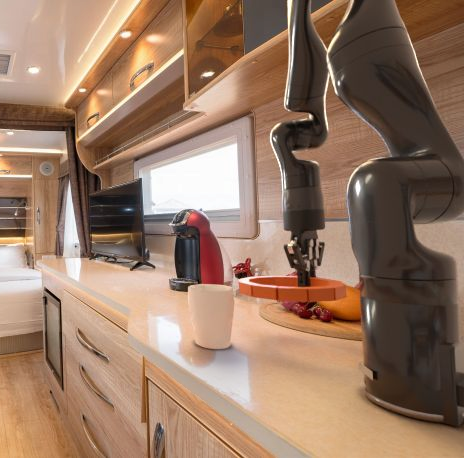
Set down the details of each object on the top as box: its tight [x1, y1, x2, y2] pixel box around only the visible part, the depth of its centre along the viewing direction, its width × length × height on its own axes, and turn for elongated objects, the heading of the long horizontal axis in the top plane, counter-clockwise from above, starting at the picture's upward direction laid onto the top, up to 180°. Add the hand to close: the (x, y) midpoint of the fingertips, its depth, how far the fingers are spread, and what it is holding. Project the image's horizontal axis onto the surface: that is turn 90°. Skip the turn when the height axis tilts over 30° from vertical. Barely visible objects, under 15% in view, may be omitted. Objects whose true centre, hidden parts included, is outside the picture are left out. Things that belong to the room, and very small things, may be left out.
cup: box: [187, 283, 235, 350], centre depth 70 cm, size 9×9×12 cm
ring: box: [238, 275, 347, 303], centre depth 69 cm, size 18×18×2 cm
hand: (307, 287), depth 73 cm, fingers closed on ring, 2 cm apart
